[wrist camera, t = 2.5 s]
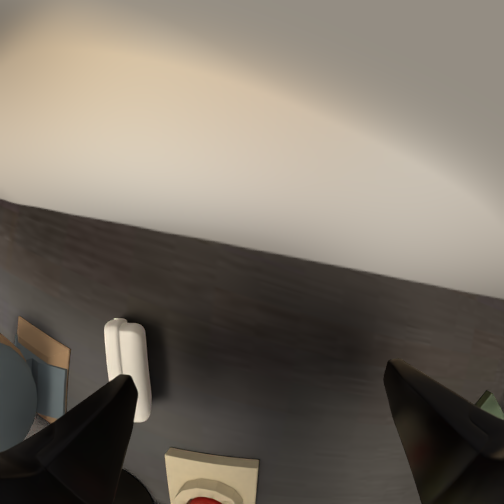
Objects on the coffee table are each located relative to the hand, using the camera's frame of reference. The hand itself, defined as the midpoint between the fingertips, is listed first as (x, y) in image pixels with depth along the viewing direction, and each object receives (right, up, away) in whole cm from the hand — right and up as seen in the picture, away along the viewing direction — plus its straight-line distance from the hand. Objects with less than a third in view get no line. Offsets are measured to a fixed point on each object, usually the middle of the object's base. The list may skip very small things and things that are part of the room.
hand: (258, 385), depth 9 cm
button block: (-4, -21, +14) cm, 25 cm away
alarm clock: (-26, -11, +17) cm, 33 cm away
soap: (-12, -6, +12) cm, 18 cm away
